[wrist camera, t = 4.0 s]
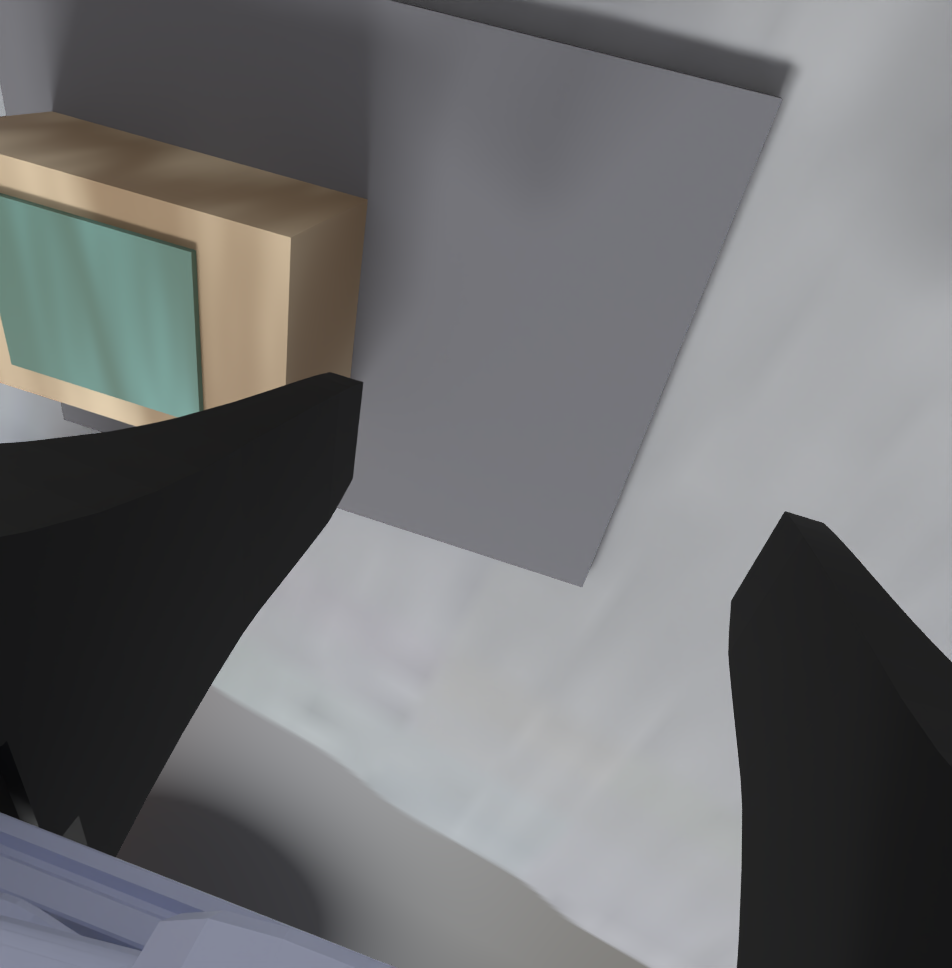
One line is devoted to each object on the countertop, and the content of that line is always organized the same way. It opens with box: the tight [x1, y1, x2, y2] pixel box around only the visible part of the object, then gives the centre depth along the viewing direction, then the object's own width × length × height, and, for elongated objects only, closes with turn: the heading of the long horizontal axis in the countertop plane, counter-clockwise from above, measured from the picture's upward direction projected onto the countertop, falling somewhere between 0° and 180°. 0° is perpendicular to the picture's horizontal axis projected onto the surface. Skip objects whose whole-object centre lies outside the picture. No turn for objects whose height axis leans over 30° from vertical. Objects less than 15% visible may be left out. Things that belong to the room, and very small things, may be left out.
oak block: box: [0, 111, 368, 426], centre depth 14 cm, size 4×5×8 cm
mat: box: [0, 0, 782, 587], centre depth 16 cm, size 16×12×1 cm
